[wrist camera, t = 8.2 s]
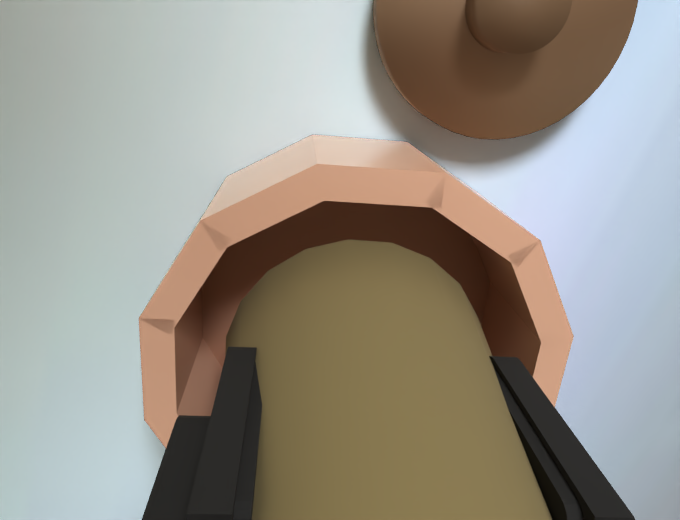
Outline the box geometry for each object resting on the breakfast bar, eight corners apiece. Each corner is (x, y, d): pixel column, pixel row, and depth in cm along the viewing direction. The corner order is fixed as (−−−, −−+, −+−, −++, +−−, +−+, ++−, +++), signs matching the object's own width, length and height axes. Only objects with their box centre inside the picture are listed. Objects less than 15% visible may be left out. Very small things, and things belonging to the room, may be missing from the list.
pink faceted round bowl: (176, 124, 13) (129, 150, 10) (532, 151, 14) (614, 184, 11) (183, 428, 17) (150, 536, 13) (472, 435, 18) (519, 537, 14)
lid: (332, -65, 12) (337, -86, 10) (579, -188, 12) (636, -236, 10) (421, 167, 15) (439, 188, 13) (633, 74, 14) (688, 79, 12)
